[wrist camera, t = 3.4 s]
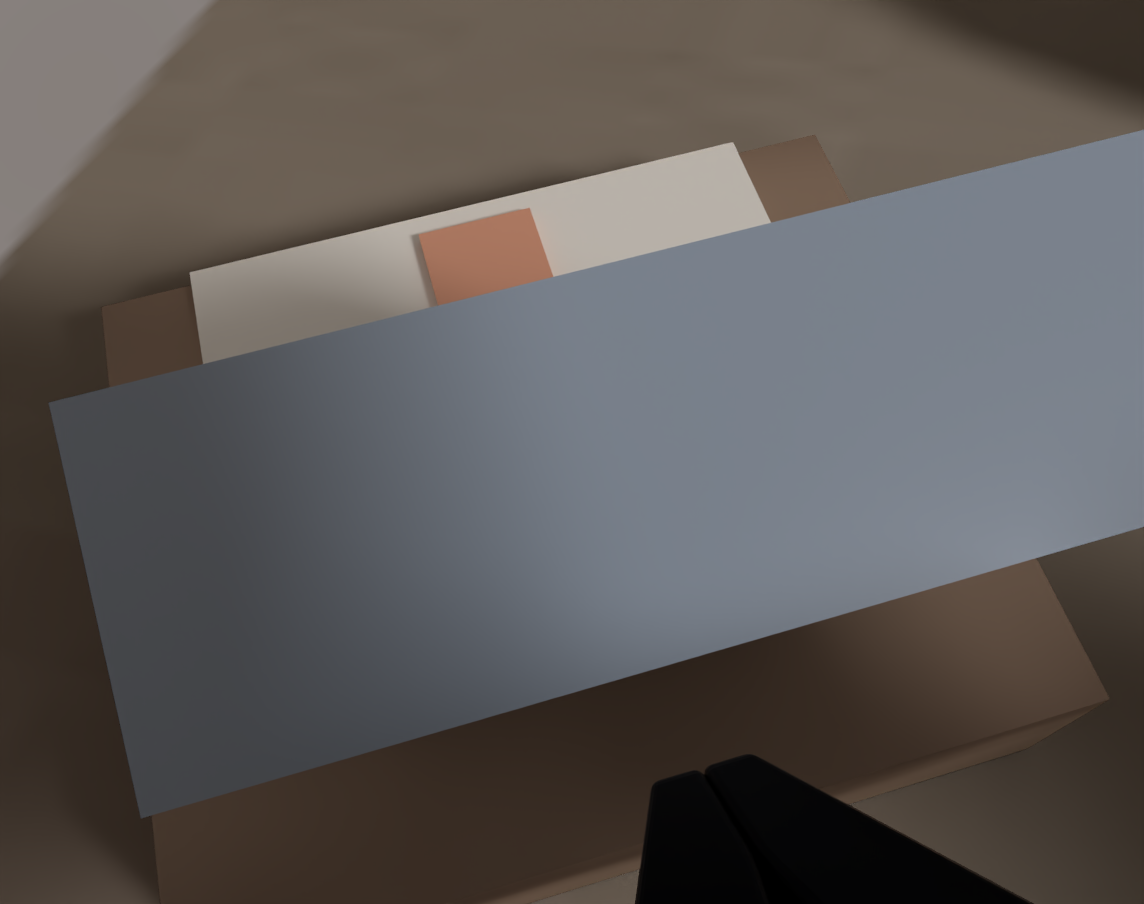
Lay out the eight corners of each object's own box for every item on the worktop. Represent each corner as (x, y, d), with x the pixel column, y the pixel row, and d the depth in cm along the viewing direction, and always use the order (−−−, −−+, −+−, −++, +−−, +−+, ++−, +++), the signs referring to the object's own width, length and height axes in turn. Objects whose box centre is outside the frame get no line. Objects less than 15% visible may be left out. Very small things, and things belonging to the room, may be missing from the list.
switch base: (1027, 748, 16) (1203, 642, 11) (246, 991, 15) (76, 986, 10) (787, 245, 21) (842, 19, 16) (170, 401, 20) (28, 205, 15)
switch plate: (811, 326, 16) (816, 307, 16) (224, 479, 15) (214, 463, 15) (731, 154, 18) (734, 133, 17) (196, 283, 17) (184, 264, 17)
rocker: (811, 552, 15) (1343, 467, 6) (361, 680, 14) (95, 831, 5) (770, 415, 15) (1213, 113, 6) (324, 535, 14) (5, 414, 5)
